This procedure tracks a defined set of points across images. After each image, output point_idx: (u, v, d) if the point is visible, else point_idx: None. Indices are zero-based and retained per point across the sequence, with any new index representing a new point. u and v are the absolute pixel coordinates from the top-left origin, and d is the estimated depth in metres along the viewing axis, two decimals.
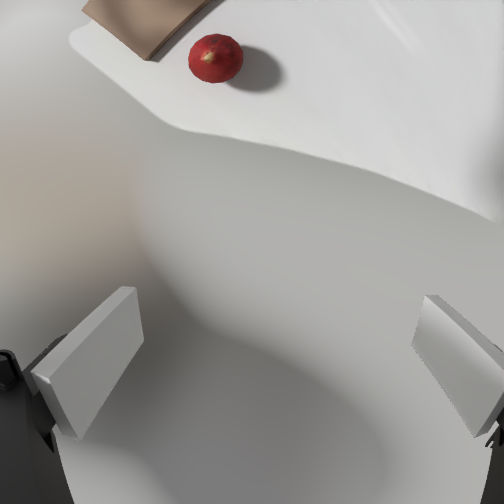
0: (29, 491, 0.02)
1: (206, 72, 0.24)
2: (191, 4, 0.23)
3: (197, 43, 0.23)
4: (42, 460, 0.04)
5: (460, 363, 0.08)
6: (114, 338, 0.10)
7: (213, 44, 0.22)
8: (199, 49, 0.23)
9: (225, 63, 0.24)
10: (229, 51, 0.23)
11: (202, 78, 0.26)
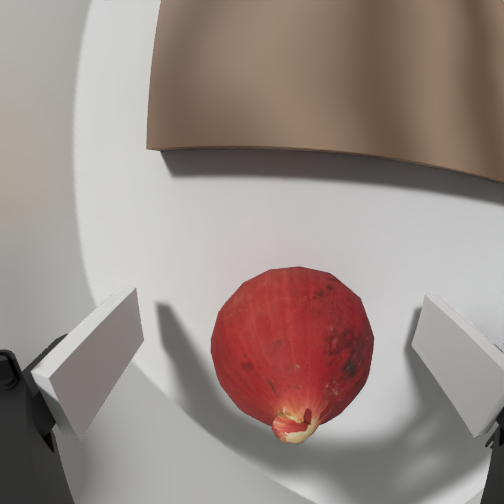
0: (30, 491, 0.02)
1: (245, 410, 0.08)
2: (372, 133, 0.10)
3: (306, 317, 0.08)
4: (42, 460, 0.04)
5: (460, 363, 0.08)
6: (114, 338, 0.10)
7: (343, 382, 0.07)
8: (296, 367, 0.07)
9: None
10: None
11: (221, 385, 0.09)
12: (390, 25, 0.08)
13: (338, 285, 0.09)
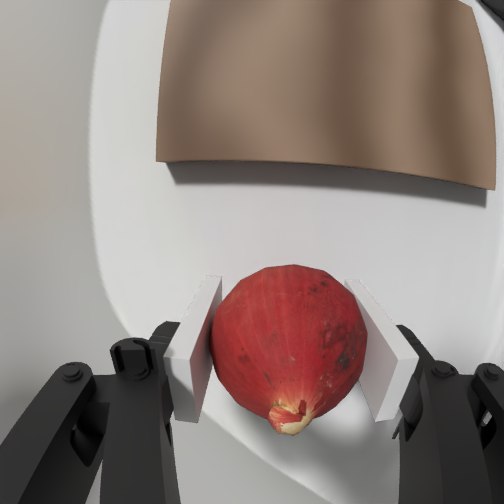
0: (154, 493, 0.03)
1: (242, 403, 0.08)
2: (340, 147, 0.13)
3: (301, 311, 0.08)
4: (167, 457, 0.05)
5: None
6: None
7: (337, 375, 0.07)
8: (291, 360, 0.07)
9: None
10: None
11: (219, 379, 0.09)
12: (359, 52, 0.11)
13: (332, 282, 0.09)
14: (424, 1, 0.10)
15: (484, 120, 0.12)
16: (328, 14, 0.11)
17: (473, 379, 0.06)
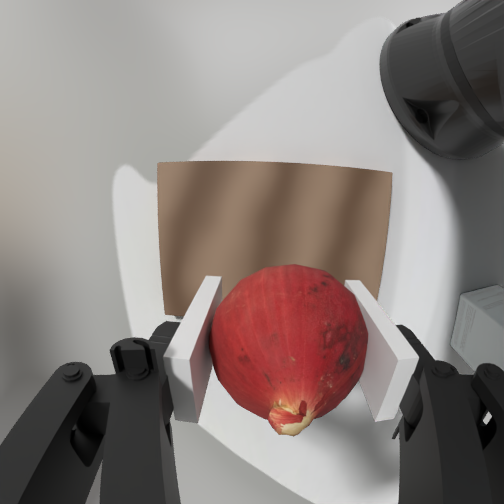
0: (154, 494, 0.03)
1: (242, 404, 0.08)
2: None
3: (301, 311, 0.08)
4: (167, 457, 0.05)
5: None
6: None
7: (337, 375, 0.07)
8: (291, 360, 0.07)
9: None
10: None
11: (219, 380, 0.09)
12: (275, 254, 0.24)
13: (332, 281, 0.09)
14: (339, 189, 0.23)
15: (370, 279, 0.25)
16: (257, 227, 0.24)
17: (473, 379, 0.06)
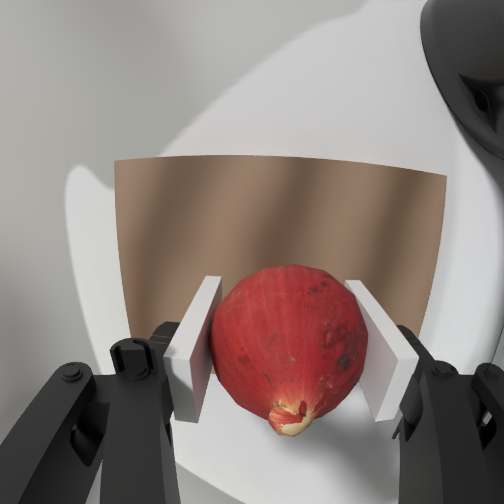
0: (154, 494, 0.03)
1: (242, 404, 0.08)
2: None
3: (301, 311, 0.08)
4: (167, 457, 0.05)
5: None
6: None
7: (338, 376, 0.07)
8: (291, 360, 0.07)
9: None
10: None
11: (219, 380, 0.09)
12: None
13: (332, 281, 0.09)
14: (378, 198, 0.15)
15: (410, 321, 0.17)
16: (258, 254, 0.16)
17: (473, 379, 0.06)
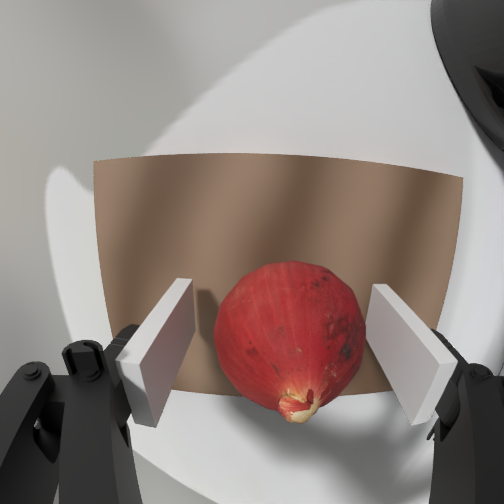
0: (107, 492, 0.03)
1: (249, 396, 0.09)
2: None
3: (305, 305, 0.08)
4: (121, 457, 0.05)
5: (398, 349, 0.09)
6: (179, 326, 0.11)
7: (340, 365, 0.08)
8: (298, 351, 0.08)
9: None
10: None
11: (225, 373, 0.10)
12: None
13: (332, 277, 0.10)
14: (390, 203, 0.13)
15: None
16: (253, 266, 0.14)
17: None
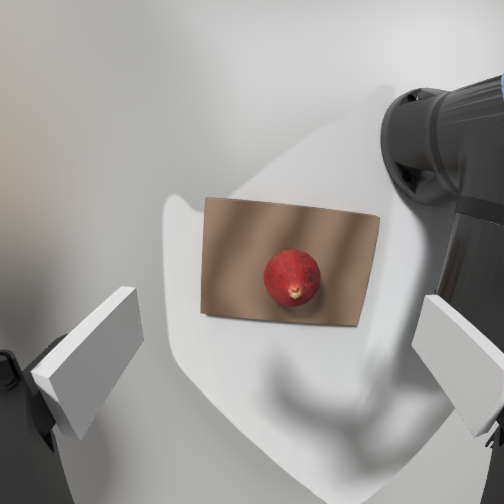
0: (30, 492, 0.02)
1: (277, 294, 0.27)
2: (273, 314, 0.35)
3: (297, 262, 0.27)
4: (42, 460, 0.04)
5: (460, 363, 0.08)
6: (114, 338, 0.10)
7: (308, 282, 0.26)
8: (294, 275, 0.26)
9: (297, 303, 0.27)
10: (310, 296, 0.27)
11: (267, 289, 0.28)
12: None
13: (308, 255, 0.28)
14: (339, 228, 0.32)
15: (357, 294, 0.34)
16: (278, 252, 0.33)
17: None
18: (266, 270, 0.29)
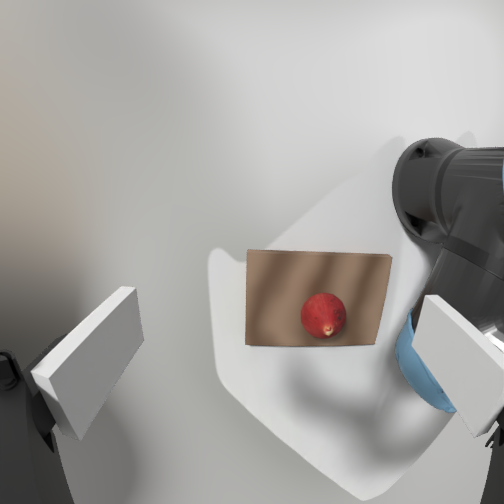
0: (30, 491, 0.02)
1: (313, 331, 0.33)
2: (306, 341, 0.41)
3: (329, 306, 0.33)
4: (42, 460, 0.04)
5: (460, 363, 0.08)
6: (114, 338, 0.10)
7: (337, 321, 0.32)
8: (327, 317, 0.32)
9: (329, 337, 0.33)
10: (338, 331, 0.33)
11: (305, 326, 0.34)
12: None
13: (336, 298, 0.34)
14: (359, 270, 0.37)
15: (373, 319, 0.39)
16: (309, 293, 0.39)
17: None
18: (303, 312, 0.35)
